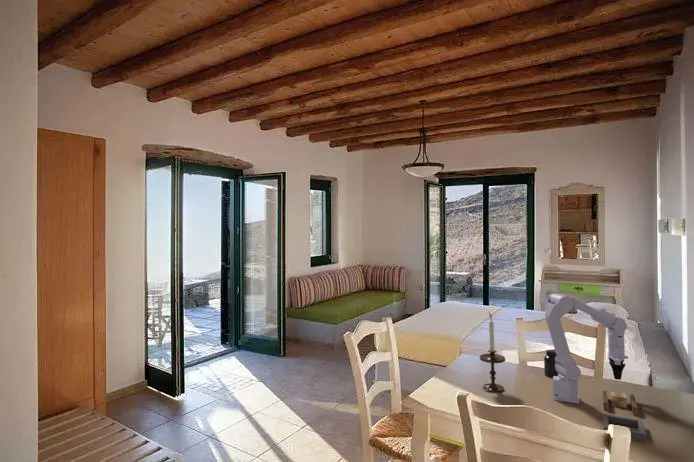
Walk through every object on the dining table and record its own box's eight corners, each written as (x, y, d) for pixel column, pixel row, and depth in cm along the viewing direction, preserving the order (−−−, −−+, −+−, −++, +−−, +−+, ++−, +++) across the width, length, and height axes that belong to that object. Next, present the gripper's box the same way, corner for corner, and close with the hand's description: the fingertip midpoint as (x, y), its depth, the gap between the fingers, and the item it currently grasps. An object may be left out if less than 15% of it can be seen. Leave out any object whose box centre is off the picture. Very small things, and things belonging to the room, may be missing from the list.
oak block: (612, 405, 167) (611, 395, 168) (611, 401, 172) (611, 391, 172) (626, 408, 165) (626, 398, 165) (626, 403, 169) (625, 393, 169)
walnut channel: (603, 410, 163) (603, 402, 163) (602, 397, 175) (602, 390, 175) (637, 415, 158) (637, 407, 158) (634, 402, 170) (634, 394, 170)
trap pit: (604, 434, 145) (604, 426, 145) (603, 420, 155) (602, 413, 155) (646, 442, 139) (646, 434, 139) (642, 426, 149) (642, 420, 149)
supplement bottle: (561, 378, 199) (561, 353, 199) (546, 377, 200) (545, 352, 200) (557, 373, 206) (556, 349, 206) (542, 372, 207) (542, 348, 207)
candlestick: (479, 392, 185) (477, 313, 185) (481, 383, 195) (479, 309, 195) (505, 394, 181) (503, 314, 181) (506, 386, 191) (504, 310, 191)
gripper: (629, 350, 167) (630, 384, 167) (626, 341, 180) (627, 373, 180) (608, 348, 171) (609, 381, 171) (607, 340, 183) (607, 371, 183)
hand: (617, 377), depth 175 cm, fingers open, 5 cm apart
